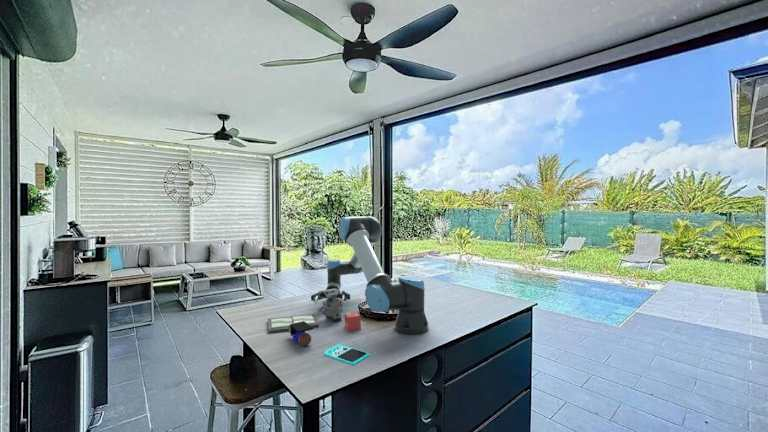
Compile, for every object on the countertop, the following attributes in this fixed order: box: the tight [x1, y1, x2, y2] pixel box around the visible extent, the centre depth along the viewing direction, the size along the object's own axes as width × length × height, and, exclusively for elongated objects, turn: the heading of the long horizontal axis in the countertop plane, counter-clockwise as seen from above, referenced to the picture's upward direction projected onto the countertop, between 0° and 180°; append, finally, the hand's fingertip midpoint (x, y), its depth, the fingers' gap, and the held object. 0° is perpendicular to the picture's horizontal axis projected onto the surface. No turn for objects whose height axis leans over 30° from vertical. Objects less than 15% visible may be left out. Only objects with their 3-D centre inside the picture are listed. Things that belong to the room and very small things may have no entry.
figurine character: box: [288, 321, 314, 347], centre depth 144 cm, size 7×8×15 cm
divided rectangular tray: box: [267, 313, 320, 334], centre depth 163 cm, size 16×22×2 cm
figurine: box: [317, 289, 343, 323], centre depth 168 cm, size 9×12×15 cm
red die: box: [344, 311, 362, 331], centre depth 158 cm, size 6×6×6 cm
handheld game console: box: [324, 343, 371, 366], centre depth 131 cm, size 10×16×1 cm, turn 55°
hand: (329, 301), depth 172 cm, fingers open, 13 cm apart
